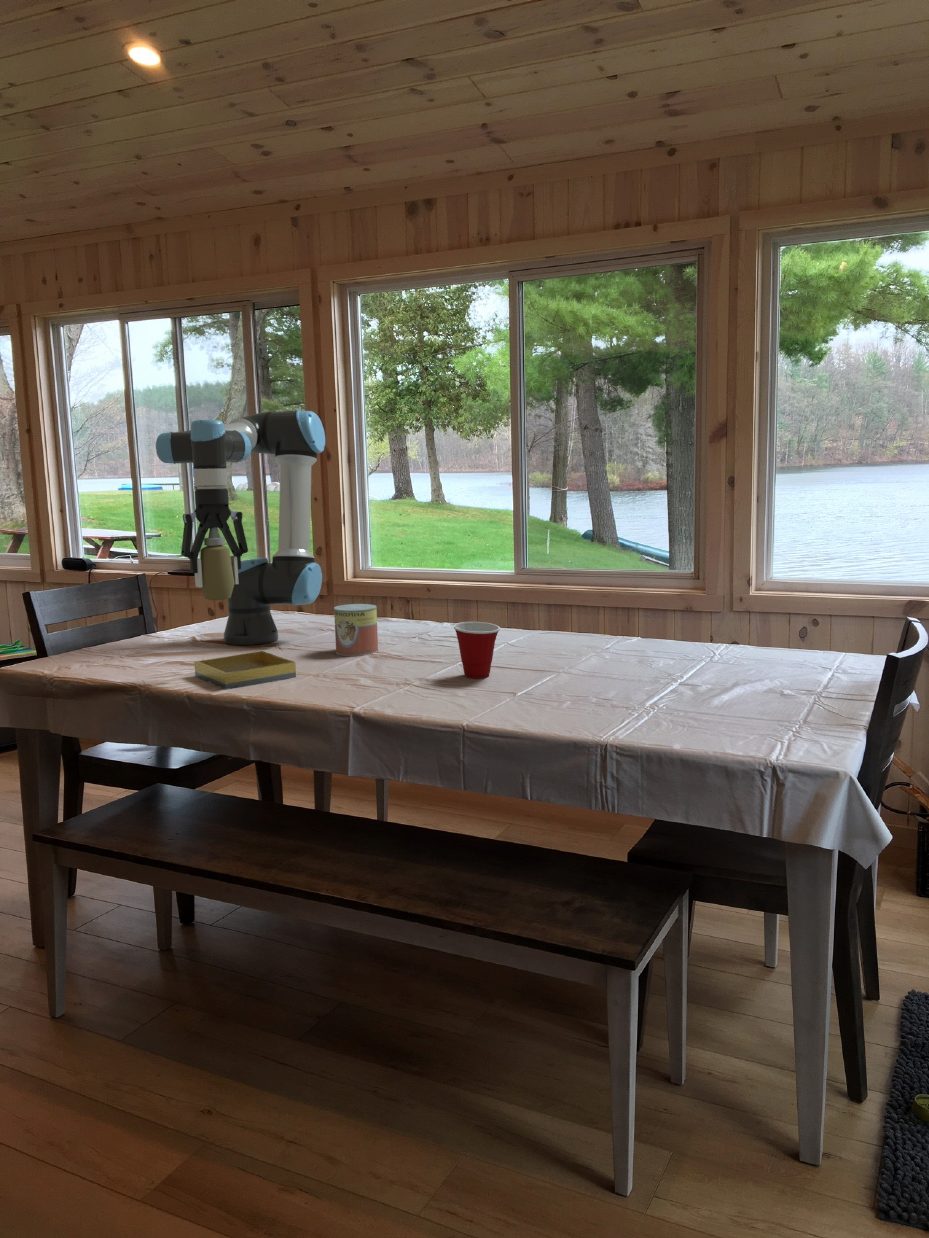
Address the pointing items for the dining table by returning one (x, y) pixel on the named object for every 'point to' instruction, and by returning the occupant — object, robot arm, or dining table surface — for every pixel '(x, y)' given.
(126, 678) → the dining table surface
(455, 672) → the dining table surface
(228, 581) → the squeeze bottle
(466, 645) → the plastic cup
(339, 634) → the canned food
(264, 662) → the shallow tray
